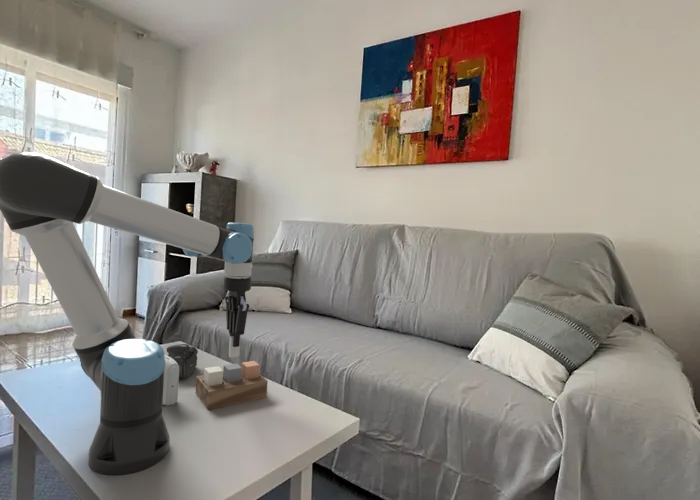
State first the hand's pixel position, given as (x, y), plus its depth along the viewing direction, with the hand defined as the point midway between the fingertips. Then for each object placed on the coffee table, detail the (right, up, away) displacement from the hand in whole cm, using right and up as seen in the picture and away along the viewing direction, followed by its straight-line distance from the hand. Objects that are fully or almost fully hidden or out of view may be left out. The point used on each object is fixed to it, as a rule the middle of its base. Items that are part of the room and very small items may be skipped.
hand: (233, 356), depth 116 cm
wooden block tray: (-1, -12, +1) cm, 12 cm away
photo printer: (-19, -11, -5) cm, 22 cm away
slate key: (-1, -8, 0) cm, 8 cm away
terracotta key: (+4, -8, +4) cm, 10 cm away
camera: (-21, -10, +14) cm, 27 cm away
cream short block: (-5, -8, -3) cm, 10 cm away
